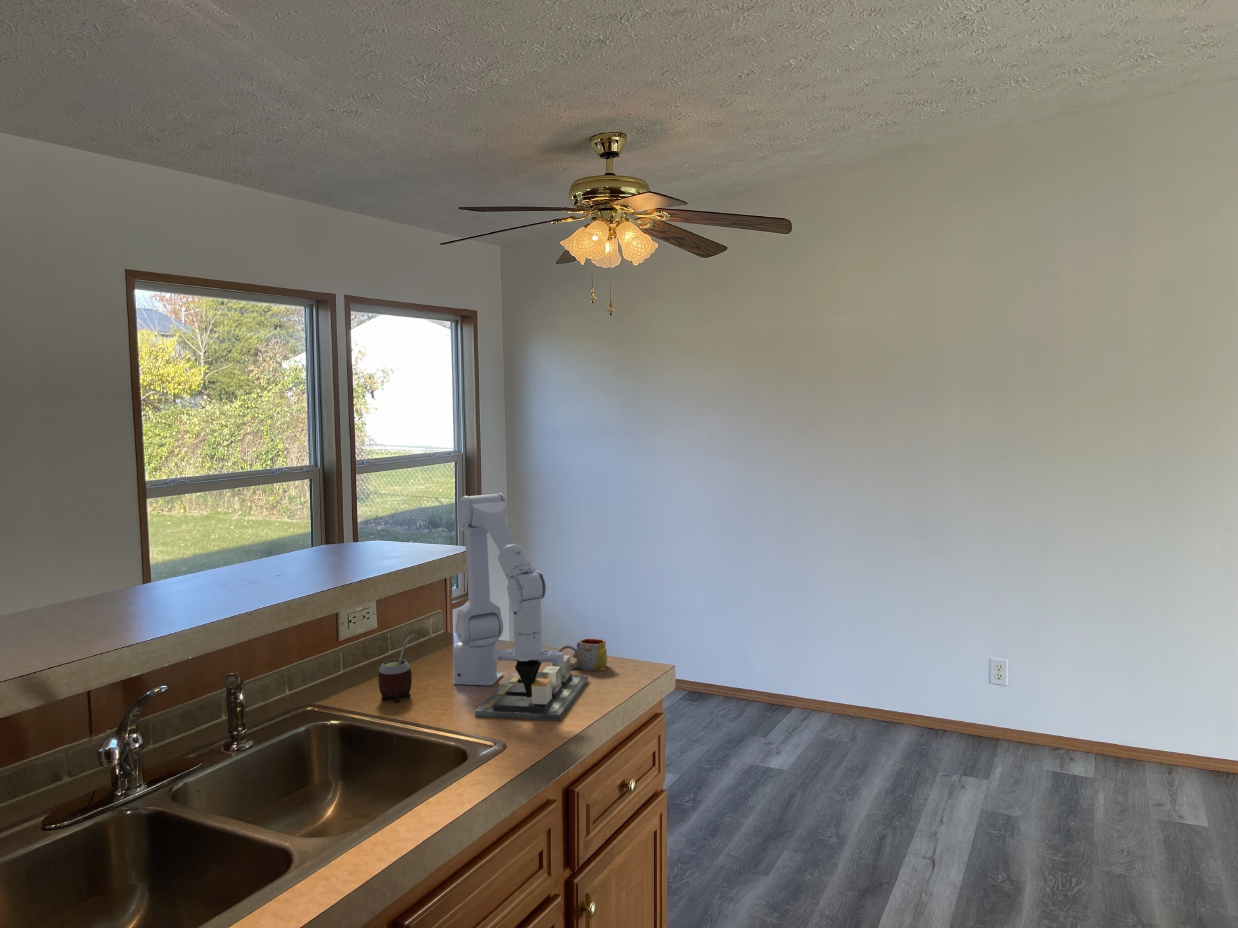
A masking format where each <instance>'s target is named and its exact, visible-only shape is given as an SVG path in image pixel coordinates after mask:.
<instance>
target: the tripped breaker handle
mask: <svg viewBox="0 0 1238 928" xmlns="http://www.w3.org/2000/svg"><path fill="white" fill-rule="evenodd" d="M551 698H552V687H551V679H544V678H537V679H536V680H535V681H534V682H533V684H532V704H547V703H548V702H549V701H550V699H551Z"/></svg>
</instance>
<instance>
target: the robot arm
mask: <svg viewBox="0 0 1238 928" xmlns="http://www.w3.org/2000/svg"><path fill="white" fill-rule="evenodd" d="M508 510H509V509H508V501H507V498H506V497H505V496H504V494H503V493H502V492H497V493H491V494H489V493H488V494H480V495H470V496H469V495H464V496H462V497H461V498H460V499H459V502H458V504H457V521H458V523H457V524H458V529H459V531H462V532H464V538H465V554H466V576H467V579H466V580H467V597H468V600H467V601H466V602H465V603H464V604H463V605H462V606H461V607H459V608H458V610H457V611H456V612H457V614H456V622H455V633H456V637H457V640H458V642H457V643H456V645H455V647H454V648H453V649H454V650H453V677H454V679H453V681H452V682H453V683H452V684H453V685H468V686H469V685H471V686H472V685H473V686H490V687H491V686H493V685H494V684H495V683H496V682H498V680H500V678H501V677H503V676H504V672H498V665H497V664H498V663H497V662H500V661H502V662H504V661H505V662H516V665H515V672H516V673H517V674H519V676H520V677H521V679H522V682H523V684H524V687H525V690H526V697H529V698H530V697H531V696H532V684H533V682H534V681H535V679H536V676H537V673H538V672H539V670H540V667H541V666H542V664H543V663H551V664H553V663H557V664H562V663H563V662H564V656H565V652H563V651H562V652H558V651H555V650H548V649H543V627H542V599H544V597H546V593H547V592H546V591H547V589H546V588H547V585H546V580H545V578H544V574H543V573H542V572H541V571H540V570H537V568H536V567H533V566H532V564H531V563H530V560H529V559H528V556H527V554H526V552H525V550H524V548H523V547H522V545H520V544H516V543H515V540H514V537H513V535H512V531H511V530H510V527H509V524H508V521H507V518H508V512H509V511H508ZM488 534H489V535H490V537H491V539H492V541H493V542H494V543H495V546H496V548H497V550H498V551H499V553H498V555H497V560H498V563H499V565H500V567H501V570H502V571H503V573H504V576H505V578H506V580H507V586H506V591H507V595H508V598H509V604H510V605H509V606H510V609H511V611H512V614H513V615H512V618H513V642H514V643H513V644H514V648H510V649H509V648H508V649H497V643H498V642H499V639H500V638H501V637H502V634H504V633H503V632H504V621H503V618H502V613H501V608H500V606H499V605H498V604H497V603H495V602H493V601H492V600H491V592H490V588H491V587H490V574H489V570H490V568H489V567H490V566H489V553H488V552H489V551H488Z"/></svg>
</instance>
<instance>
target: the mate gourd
mask: <svg viewBox="0 0 1238 928" xmlns="http://www.w3.org/2000/svg"><path fill="white" fill-rule="evenodd" d="M415 635H416V633H415V632H414V633H412V634H411V635H409V637H407V638H406V639H405V640H404V641H403V644H402V645H401V646H402V647H401V648H402V649H401V652H400V656H399V658H397V659H389V660H386V661H384V662H383V663H382V664H381V665H380V667H379V668H378V674H377V678H378V687H379V688H378V689H379V692H380V694H381V697H380V699H381V700H380V701H381V702H384V701H385V702H386V701H393V700H394V704H399V703H400V699H405V698H411V697H412V695H411V688H412V683H413V682H412V678H413V675H412V674H413V673H412V669H411V666H410V663H409V662H408V661H407V660H406V659H403V656H404V653H405V649H406V647H407V645H408V642H409V641H410V640H411V639H412V638H413V637H414V636H415Z"/></svg>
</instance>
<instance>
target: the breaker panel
mask: <svg viewBox="0 0 1238 928" xmlns="http://www.w3.org/2000/svg"><path fill="white" fill-rule="evenodd" d="M570 663H571V656H570V655H564V662H563V663H562V664H557V663H552V666H550V665H549V666H546V667H545V668H544V669H543V670H542V671H538V673H537V676H536V679H537V678H544V679H551V687H552V698H551V699H550V701H549V702H548V703H547V704H532V696H531V697H530V698H529V697H526V690H525V687H524V684H523V682H522V679H521V677H520V676H519V674H518V673H515V672H514V673H512V674H511V675H510V676H508V677H507V679H506V680H505V681H503V682H502V684H500V685H499V687H497V688H496V689H495V691H493V692H492V693H491V694H490V695H489V697H487V698H486V699H485V700H484V701H483V702H482V703H481V704H480V705H479V706H478V707H477V708H476V709H475V710H474V717H475V718H476V717H477V718H478V717H479V718H493V719H494V718H495V719H496V718H500V719H515V720H516V719H518V720H531V721H532V720H533V721H534V720H535V721H536V720H537V721H553V722H560V721H561V720H562V718H563V717H564V716H565V714H566V713H567V711H568V710H569V709H570V708H571V706H572V705H573V703H574V702H575V700H576V699H577V698H578V696H579V695H580V693H581V692H582V691H583V689H584V688H585V687H584V686H587V684H588V682H589V676H586V675H585V676H584V675H583V676H582V675H572V672H571V671H572V670H571V669H572V668H571V667H570ZM536 679H535V680H536ZM563 715H564V716H563Z"/></svg>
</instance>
